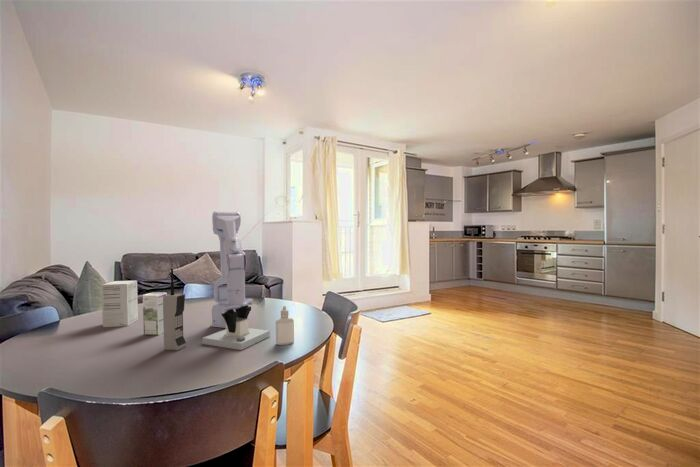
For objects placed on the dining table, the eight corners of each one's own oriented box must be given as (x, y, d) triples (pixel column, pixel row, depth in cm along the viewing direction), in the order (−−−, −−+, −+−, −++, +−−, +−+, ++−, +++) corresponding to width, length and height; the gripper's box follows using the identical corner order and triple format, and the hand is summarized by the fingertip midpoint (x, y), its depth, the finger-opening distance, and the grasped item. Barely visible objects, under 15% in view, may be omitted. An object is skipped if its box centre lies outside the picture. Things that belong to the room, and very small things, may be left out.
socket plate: (202, 343, 108) (202, 335, 108) (233, 331, 121) (233, 324, 121) (241, 350, 102) (241, 340, 101) (269, 336, 114) (269, 328, 114)
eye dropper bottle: (292, 345, 105) (291, 307, 105) (274, 345, 105) (273, 307, 105) (295, 341, 109) (294, 304, 109) (278, 340, 109) (277, 304, 109)
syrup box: (168, 330, 124) (167, 291, 123) (157, 335, 118) (157, 294, 118) (154, 330, 124) (153, 291, 124) (142, 335, 118) (141, 294, 118)
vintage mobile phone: (178, 350, 102) (176, 269, 102) (163, 349, 103) (162, 269, 103) (186, 346, 106) (184, 267, 106) (172, 345, 107) (170, 267, 107)
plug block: (225, 335, 110) (225, 319, 110) (234, 332, 114) (234, 316, 114) (240, 337, 108) (239, 321, 108) (248, 334, 112) (248, 318, 112)
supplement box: (114, 321, 139) (113, 280, 139) (138, 319, 140) (137, 279, 140) (101, 327, 129) (100, 284, 129) (127, 326, 131) (127, 283, 131)
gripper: (229, 294, 103) (230, 338, 103) (259, 286, 116) (260, 325, 116) (212, 292, 106) (213, 335, 106) (243, 285, 119) (244, 323, 119)
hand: (236, 330), depth 111 cm, fingers closed on plug block, 4 cm apart
